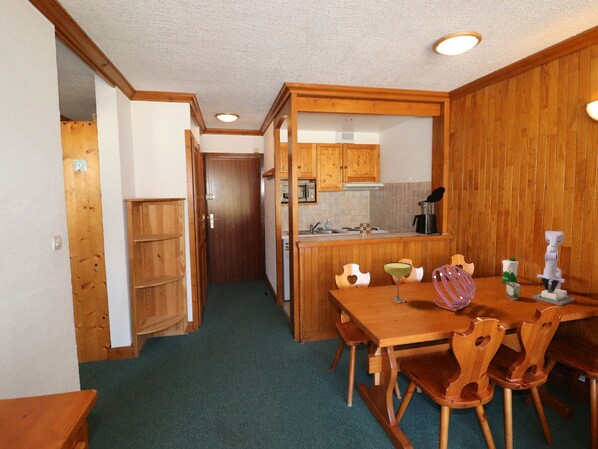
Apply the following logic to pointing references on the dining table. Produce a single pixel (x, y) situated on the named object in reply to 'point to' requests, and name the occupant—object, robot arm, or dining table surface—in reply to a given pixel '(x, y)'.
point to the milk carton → (510, 270)
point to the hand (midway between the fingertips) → (549, 290)
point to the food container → (512, 290)
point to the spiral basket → (460, 301)
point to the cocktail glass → (398, 272)
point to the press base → (561, 301)
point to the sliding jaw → (550, 293)
